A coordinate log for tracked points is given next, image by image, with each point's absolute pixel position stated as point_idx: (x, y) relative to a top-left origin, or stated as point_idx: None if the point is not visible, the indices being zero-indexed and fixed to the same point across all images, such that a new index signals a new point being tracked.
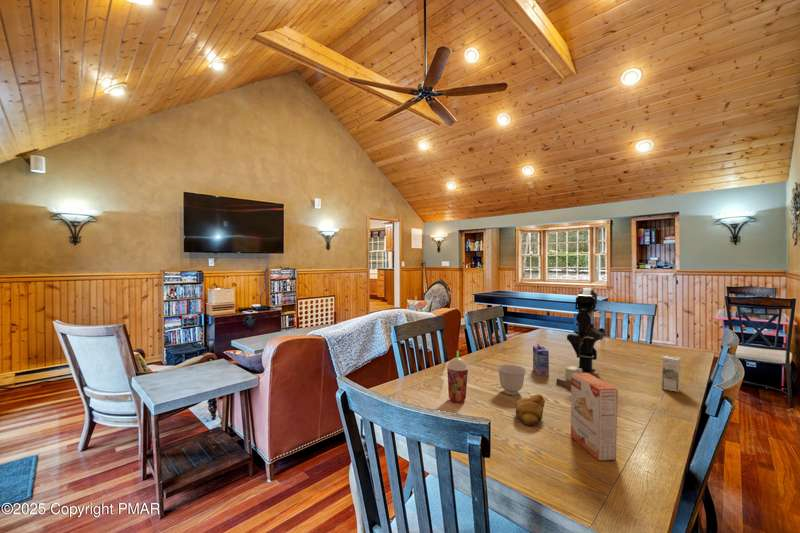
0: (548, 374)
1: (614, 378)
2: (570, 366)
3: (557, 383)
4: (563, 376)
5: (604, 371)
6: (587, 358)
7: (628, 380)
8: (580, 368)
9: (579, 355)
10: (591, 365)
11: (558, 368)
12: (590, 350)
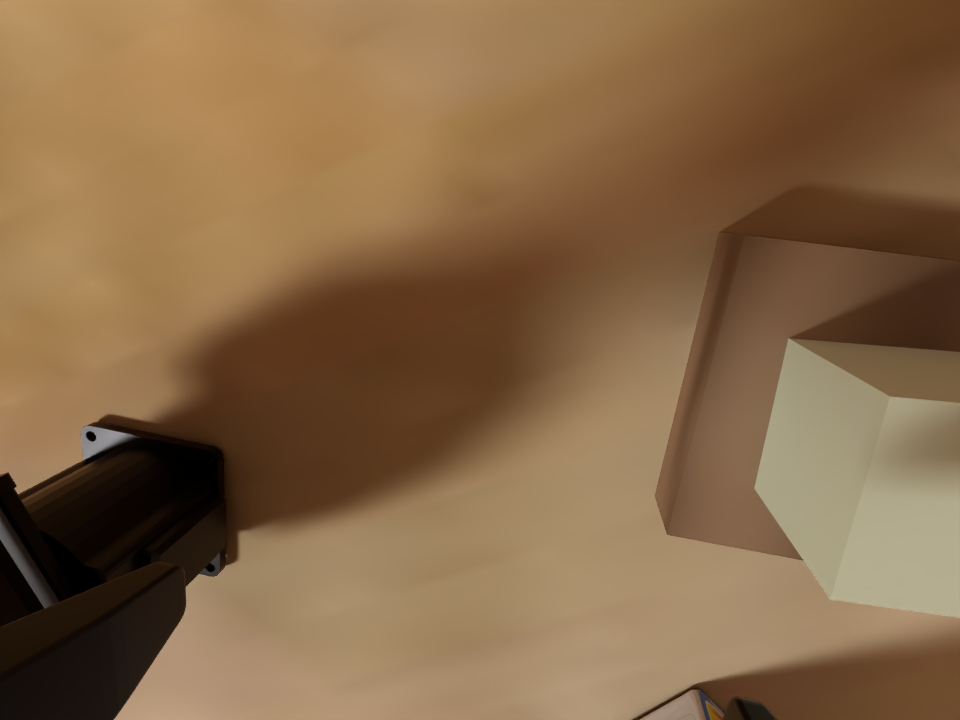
0: (704, 702)
1: (156, 160)
2: (876, 605)
3: None
4: None
5: (32, 342)
6: (56, 565)
7: (73, 3)
8: (887, 433)
9: (740, 699)
10: (95, 472)
11: (362, 688)
12: (119, 623)
